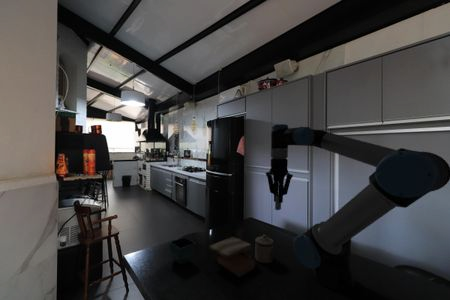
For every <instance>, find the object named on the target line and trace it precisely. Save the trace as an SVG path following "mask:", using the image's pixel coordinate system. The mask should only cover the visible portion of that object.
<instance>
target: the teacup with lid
mask: <svg viewBox="0 0 450 300" xmlns="http://www.w3.org/2000/svg"><path fill="white" fill-rule="evenodd" d="M254 243H255V247H254V248H255V249H254V252H255V255H254V258H255V260H256V261H257V262H259V263H260V264H270V263H272V262H273V260H274V244H275V242H274V240H273V239H272V238H271V237H268V236H267V235H266V234H262V236H258V237H256V238H255V240H254Z"/></svg>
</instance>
